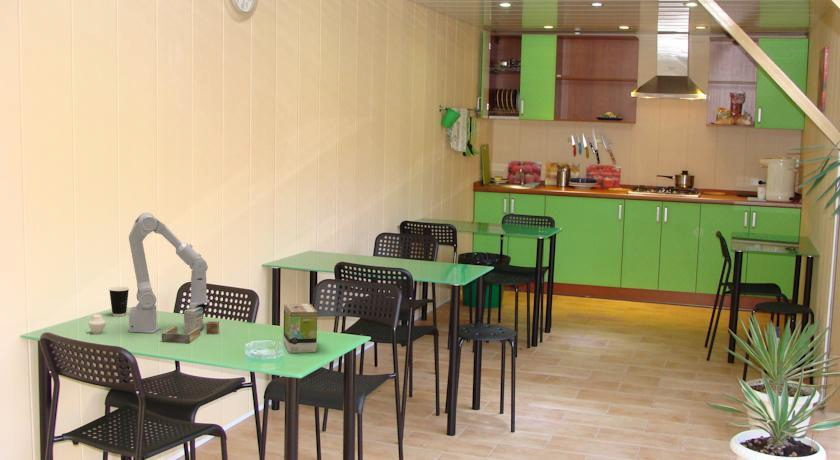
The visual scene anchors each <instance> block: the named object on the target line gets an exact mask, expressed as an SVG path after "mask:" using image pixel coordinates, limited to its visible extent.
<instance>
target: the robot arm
mask: <svg viewBox="0 0 840 460" xmlns="http://www.w3.org/2000/svg"><path fill="white" fill-rule="evenodd" d="M152 232H154V233H155V234H158V235H161V236H162V237H164V239H166V240H167V242H169V244H171V245H172V246H173V247H174V248H175V254H176V255H177V256H178V257H179V258H180V259H181V260H182V261H183V263H185V265H187V266H189V268H190V269H191V277H190V303H189V308H190V309H195V308H196V307H203V317H204V315H205V313H206V310H207V308H208V303H210V300H209V298H208V296H207V271H208V268H209V266H208V264H207V261H206V260H205V259H204V258H203V257H202V254H201V253H197V251H195V249H193V247H194V246H193V245H192V244H191V243H188V242H182V241H181V240H180V238H178V237H177V236H176V235H175V234H174V233H173V232H172V230H171V229H170V228H168V226H167V225H166V224H165V223H164V222H162V221H161V220H159V219H158V218H156V217H155V216H154V215H153V214H151V213H150V212H143V213H141V214H139V216H137V218H136V219H135V220H134V223H133V226H132V228H131V231H130V232H129V234H128V242H129V248H130V252H131V253H130V254H131V257H132V258H131V259H132V262H133V270H134V273H135V278H136V286H137V292H136V300H137V301H138V304H136V305H135V306H132V307H131V308H130V309H129V313H128V325H129V326H128V327H129V328H128V332H129V333H130V332H131V333H146V334H147V333H149V334H153V333H156V332H157V331H159V330H160V329H161V327H160V326H159V327H158V326H157V305H156V302H157V297H156V295H155V293H154V292H153V288H152V285H151V281H150V275H149V270H148V264H147V259H146V254H145V253H146V252H145V249H144V248H145V247H144V244H143V241H144V240H145V239H146V238H147V236H148V235H149V234H151V233H152Z"/></svg>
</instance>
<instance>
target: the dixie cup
mask: <svg viewBox="0 0 840 460" xmlns="http://www.w3.org/2000/svg"><path fill="white" fill-rule="evenodd" d="M108 290H109V298H110V305H111V313H112V316H113V317H125V316H126V314H127V311H128V298H129V290H130V288H129V286H113V287H109V288H108Z"/></svg>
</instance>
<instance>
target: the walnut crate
mask: <svg viewBox="0 0 840 460" xmlns="http://www.w3.org/2000/svg"><path fill="white" fill-rule="evenodd" d="M205 326H206V327H205V329H206V332H205V333H206V335H218V334H219V332H220V321H210V320H209V321H207V322H206V325H205Z"/></svg>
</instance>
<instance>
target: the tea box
mask: <svg viewBox="0 0 840 460" xmlns="http://www.w3.org/2000/svg"><path fill="white" fill-rule="evenodd" d="M317 333H318V311H317V309H316V308H315V307H314V306H313V305H312V304H311V303H287V304H285V303H284V306H283V337H282V338H283V340H282V341H283V345H284V346H285V348H286V350H287V351H288V353H290V354H295V353H296V354H298V353H301V354H303V353H316V352H317V346H318V345H317V344H318V342H317V340H318V334H317Z"/></svg>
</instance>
